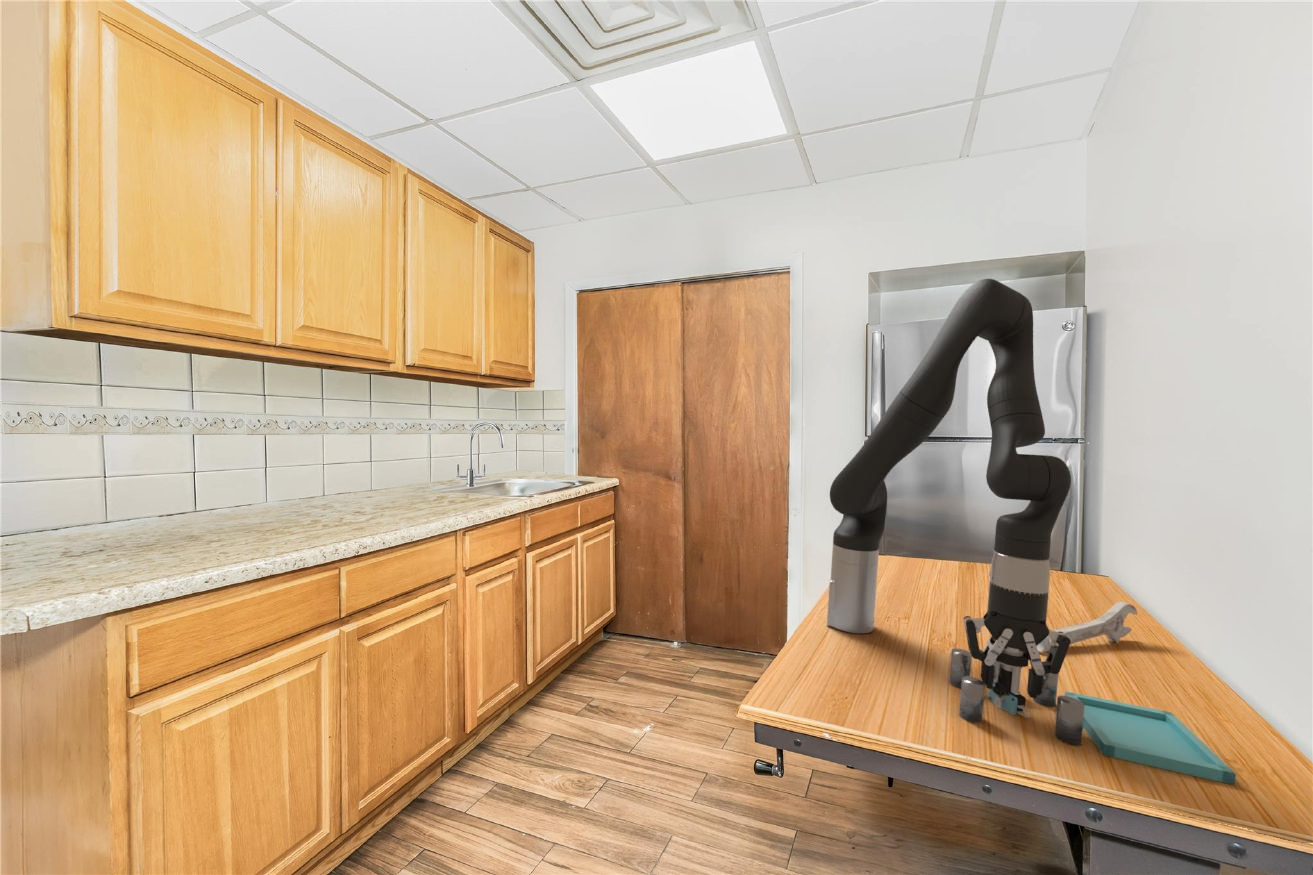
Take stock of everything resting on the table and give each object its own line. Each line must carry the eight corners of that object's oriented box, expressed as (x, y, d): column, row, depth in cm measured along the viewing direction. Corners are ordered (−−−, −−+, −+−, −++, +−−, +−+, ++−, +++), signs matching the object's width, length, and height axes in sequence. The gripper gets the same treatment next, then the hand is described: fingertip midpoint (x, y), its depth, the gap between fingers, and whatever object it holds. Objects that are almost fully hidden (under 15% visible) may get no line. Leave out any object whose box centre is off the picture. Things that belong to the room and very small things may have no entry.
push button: (1042, 720, 80) (1048, 655, 79) (1013, 722, 79) (1019, 656, 78) (1004, 696, 86) (1010, 636, 86) (976, 698, 85) (982, 637, 85)
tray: (1102, 754, 72) (1103, 743, 72) (1064, 700, 86) (1065, 691, 86) (1234, 785, 67) (1235, 773, 67) (1170, 722, 81) (1171, 712, 81)
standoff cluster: (960, 719, 79) (963, 683, 78) (947, 675, 93) (949, 644, 92) (1084, 748, 73) (1088, 709, 73) (1050, 696, 87) (1053, 663, 87)
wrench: (1027, 664, 106) (1128, 634, 115) (1036, 668, 104) (1137, 638, 114) (1027, 625, 105) (1128, 598, 115) (1036, 628, 104) (1138, 601, 113)
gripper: (969, 582, 81) (961, 691, 81) (1084, 599, 75) (1074, 715, 76) (961, 570, 88) (953, 670, 88) (1066, 584, 82) (1057, 691, 83)
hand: (1009, 690), depth 82 cm, fingers open, 5 cm apart
